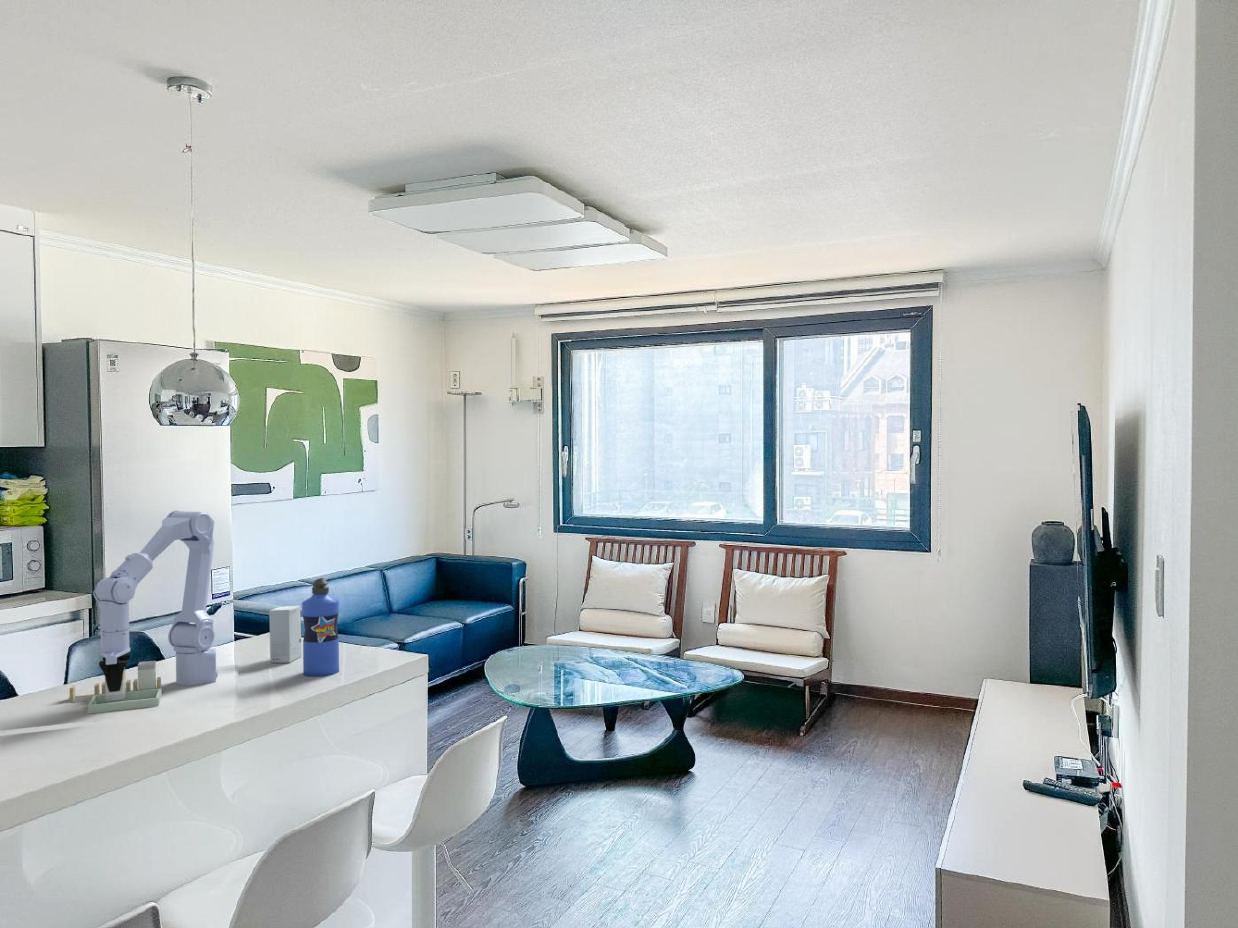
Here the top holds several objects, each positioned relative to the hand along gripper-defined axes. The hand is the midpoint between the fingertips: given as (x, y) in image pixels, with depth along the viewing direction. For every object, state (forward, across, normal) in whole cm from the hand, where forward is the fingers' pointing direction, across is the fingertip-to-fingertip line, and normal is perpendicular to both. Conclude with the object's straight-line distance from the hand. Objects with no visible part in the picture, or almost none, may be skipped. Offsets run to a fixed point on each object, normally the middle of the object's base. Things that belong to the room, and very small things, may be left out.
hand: (115, 688), depth 200 cm
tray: (+5, 0, +2) cm, 5 cm away
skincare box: (+5, -34, +38) cm, 52 cm away
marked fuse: (+2, 0, 0) cm, 2 cm away
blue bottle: (+5, -16, +46) cm, 49 cm away
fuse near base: (+4, -10, +6) cm, 12 cm away
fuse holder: (+5, -10, -1) cm, 11 cm away
